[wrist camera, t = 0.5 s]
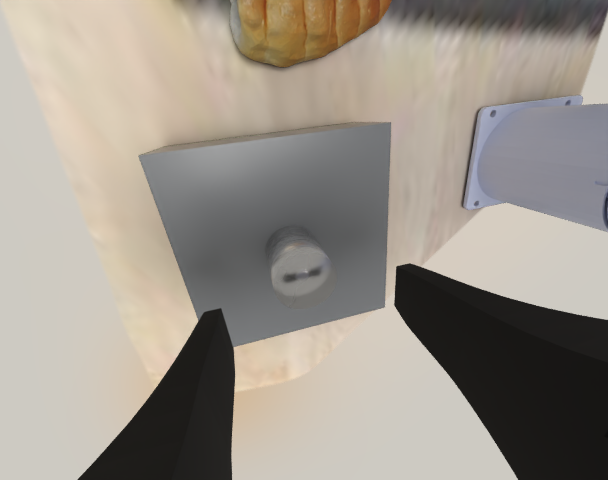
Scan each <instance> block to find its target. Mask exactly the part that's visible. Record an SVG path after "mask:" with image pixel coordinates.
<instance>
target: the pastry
mask: <svg viewBox="0 0 608 480" xmlns="http://www.w3.org/2000/svg"><path fill="white" fill-rule="evenodd" d="M391 1H392V0H230V2H231V11H230V27H231V30H232V33H233V39H234V41H235V43H236V45H237V47H238V48H239V50H240V51H241V53H243V54H244V55H245V56H247V57H248V58H250V59H252V60H255V61H259V62H264V63H269V64H272V65H275V66H279V67H289V66H291V65H294V64H296V63H299V62H303V61H307V60H310V59H316V58H320V57H323V56H325V55H327V54H328V53H330V52H331V51H334V50H336V49H338V48H339V47H341V46H342V45H343V44H345V43H347V42H348V41H350V40H352V39H355V38H357V37H358V36H359V35H361V34H362V33H364V32H365V31H367V30H368V29H369V28H371V27H373V26H375V25H376V24H378V23H379V21H380V20H381V19H382V17H383V16H384V14H385V13H386V11H387V10H388V8H389V5H390V3H391Z"/></svg>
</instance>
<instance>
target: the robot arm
mask: <svg viewBox="0 0 608 480" xmlns="http://www.w3.org/2000/svg"><path fill="white" fill-rule="evenodd" d="M582 101H583V97H582V96H581V95H575V96H567V97H559V98H551V99H544V100H536V101H528V102H520V103H513V104H505V105H497V106H490V107H484V108H482V109H481V110H480V111H479V113H478V118H477V124H476V130H475V136H474V143H473V149H472V155H471V161H470V167H469V173H468V179H467V185H466V192H465V198H464V204H463V207H464V208H465V209H467V210H472V209H477V208H482V207H487V206H492V205H497V204H501V203H506V202H507V203H511V204H514V205H517V206H520V207H524V208H527V209H531V210H534V211H538V212H541V213H544V214H548V215H551V216H555V217H558V218H561V219H565V220H568V221H572V222H575V223H578V224H582V225H585V226H589V227H592V228H596V229H599V230H603V231H606V232H608V104H593V105H581V104H582ZM491 111H492V114H491V116H490V113H491ZM474 203H475V204H474ZM394 305H395V307H396V309H397V310H398V312H399V313H400V315H401V317H402V318H403V320H404V321H405V323H406V324H407V326H408V327H409V328H410V329H411V331H412V332H413V333H414V334H415V335H416V337H417V338H418V339H419V340H420V341H421V343H422V344H423V345H424V346H425V347H426V348H427V350H428V351H429V352H430V353H431V354H432V356H433V357H434V358H435V359H436V360H437V361H438V363H439V364H440V365H441V366H442V367H443V368H444V370H445V371H446V372H447V373H448V375H449V376H450V377H451V378H452V380H453V381H454V382H455V384H456V385H457V386H458V388H459V389H460V391H461V392H462V394H463V395H464V396H465V398H466V399H467V401H468V402H469V403H470V405H471V406H472V408H473V409H474V411H475V412H476V414H477V415H478V417H479V418H480V420H481V421H482V423H483V424H484V426H485V427H486V429H487V430H488V432H489V433H490V435H491V436H492V438H493V440H494V441H495V443H496V444H497V446H498V448H499V449H500V451H501V452H502V454H503V455H504V457H505V459H506V460H507V462H508V464H509V465H510V467H511V468H512V470H513V472H514V473H515V475H516V477H517V478H518V480H608V320H604V319H598V318H593V317H587V316H582V315H576V314H572V313H567V312H562V311H558V310H553V309H548V308H544V307H540V306H536V305H532V304H528V303H525V302H521V301H517V300H514V299H510V298H506V297H503V296H500V295H497V294H494V293H491V292H488V291H484V290H481V289H479V288H476V287H473V286H470V285H467V284H465V283H462V282H459V281H456V280H454V279H451V278H448V277H446V276H443V275H441V274H438V273H436V272H433V271H430V270H427V269H424V268H422V267H419V266H416V265H413V264H410V263H409V264H405V265H401V266H397V267H396V285H395V303H394ZM234 386H235V364H234V349H233V345H232V342H231V338H230V335H229V332H228V329H227V325H226V322H225V319H224V316H223V312H222V309H221V308H219V309H215V310H210V311H206V312H204V313H203V314H202V316H201V318H200V319H199V321H198V323H197V325H196V327H195V328H194V330H193V332H192V333H191V335H190V337H189V339H188V340H187V342H186V344H185V345H184V347H183V348H182V350H181V352H180V353H179V355H178V356H177V358H176V360H175V361H174V363H173V364H172V366H171V367H170V369H169V370H168V371H167V373H166V374H165V376H164V377H163V379H162V380H161V382H160V383H159V384H158V386H157V387H156V389H155V390H154V391H153V393H152V394H151V395H150V397H149V398H148V399H147V401H146V402H145V403H144V405H143V406H142V407H141V408H140V410H139V411H138V412H137V414H136V415H135V416H134V417H133V418H132V420H131V421H130V422H129V423H128V425H127V426H126V427H125V428H124V429H123V430H122V431H121V432H120V434H119V435H118V436H117V437H116V438H115V439H114V440H113V441H112V443H111V444H110V445H109V446H108V447H107V448H106V449H105V451H104V452H103V453H102V454H101V455H100V456H99V457H98V458H97V460H96V461H95V462H94V463H93V464H92V465H91V466H90V467H89V468H88V469H87V470H86V471H85V472H84V473H83V474H82V475H81V476H80V477H79V479H78V480H232V463H231V443H232V423H233V405H234Z"/></svg>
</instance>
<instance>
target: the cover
mask: <svg viewBox="0 0 608 480" xmlns="http://www.w3.org/2000/svg"><path fill="white" fill-rule="evenodd" d="M390 139H391V122H352V123H344V124H336V125H328V126H321V127H313V128H305V129H297V130H289V131H282V132H274V133H266V134H258V135H250V136H243V137H235V138H227V139H219V140H211V141H203V142H196V143H188V144H180V145H172V146H165V147H162V148H159V149H156V150H153V151H150V152H147V153H144V154H141V155H139V159H140V162H141V164H142V167H143V170H144V172H145V175H146V178H147V181H148V183H149V186H150V189H151V192H152V194H153V197H154V200H155V203H156V205H157V208H158V211H159V214H160V216H161V219H162V222H163V224H164V227H165V230H166V233H167V235H168V238H169V241H170V244H171V246H172V249H173V252H174V255H175V257H176V260H177V263H178V266H179V268H180V271H181V274H182V276H183V279H184V282H185V285H186V287H187V290H188V293H189V296H190V298H191V301H192V304H193V307H194V309H195V312H196V315H197V318H198V320H199V319H200V318H201V316H202V314H203V313H204V312H206V311H210V310H215V309H219V308H221V309H222V312H223V316H224V319H225V322H226V325H227V329H228V332H229V335H230V338H231V342H232V345H233V347H236V346H239V345H243V344H247V343H251V342H255V341H258V340H262V339H266V338H270V337H274V336H278V335H281V334H285V333H289V332H293V331H297V330H300V329H304V328H308V327H312V326H316V325H319V324H323V323H327V322H331V321H335V320H338V319H342V318H346V317H350V316H354V315H358V314H361V313H365V312H369V311H373V310H377V309H380V308H384V307H385V286H386V257H387V227H388V198H389V168H390Z"/></svg>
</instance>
